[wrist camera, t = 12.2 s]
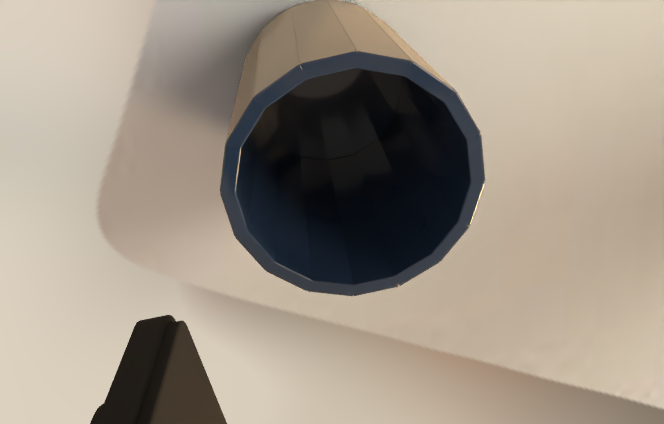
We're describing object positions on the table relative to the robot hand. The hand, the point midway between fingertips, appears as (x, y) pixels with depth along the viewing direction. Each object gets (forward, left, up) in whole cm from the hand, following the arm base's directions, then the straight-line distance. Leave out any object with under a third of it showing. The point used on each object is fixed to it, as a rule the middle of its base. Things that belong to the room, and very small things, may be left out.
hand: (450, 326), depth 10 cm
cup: (+1, -1, -15) cm, 15 cm away
